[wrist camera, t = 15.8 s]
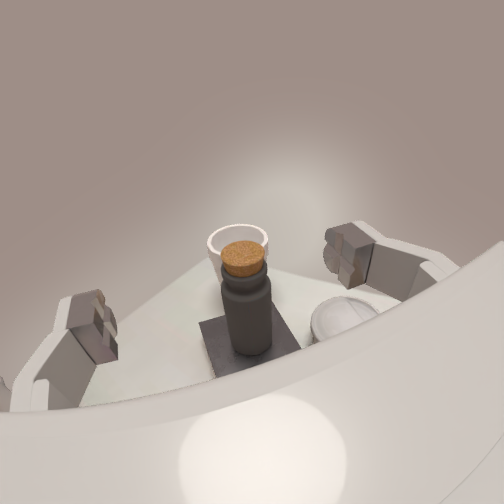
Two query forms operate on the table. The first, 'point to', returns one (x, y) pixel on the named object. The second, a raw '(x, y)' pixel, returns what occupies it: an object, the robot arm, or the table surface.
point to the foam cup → (232, 235)
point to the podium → (233, 361)
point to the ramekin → (339, 316)
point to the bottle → (246, 297)
